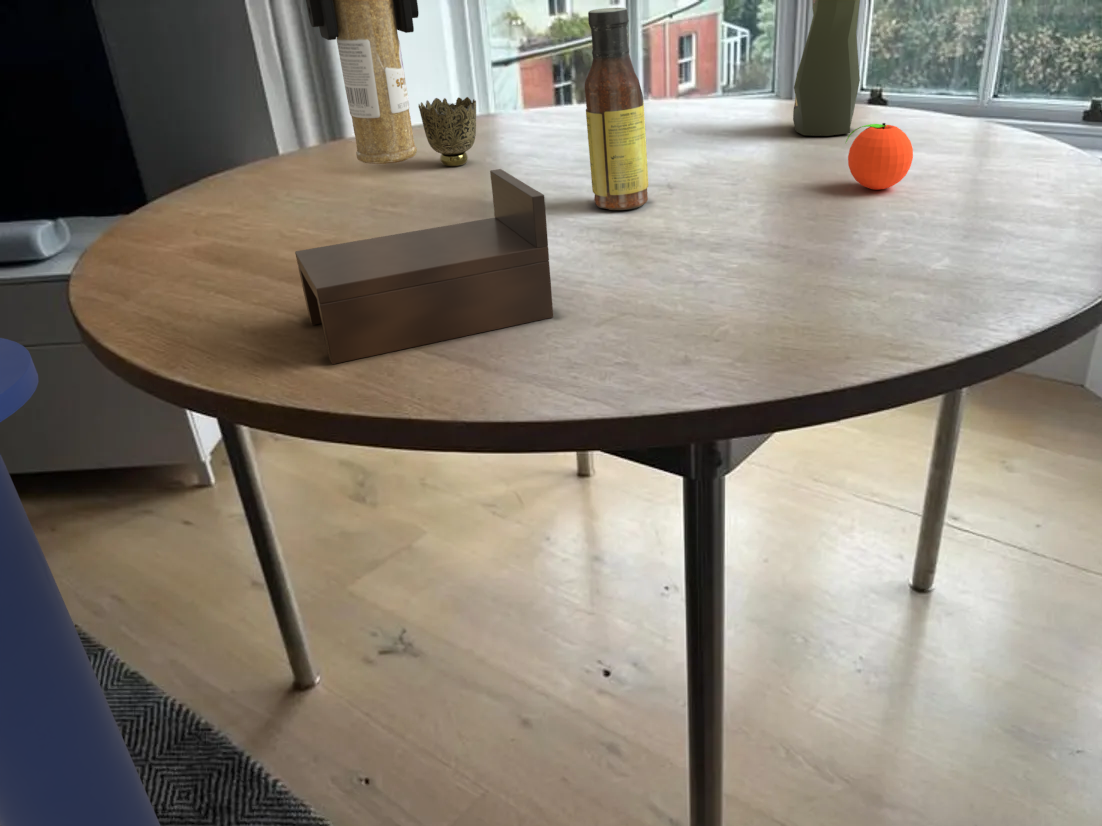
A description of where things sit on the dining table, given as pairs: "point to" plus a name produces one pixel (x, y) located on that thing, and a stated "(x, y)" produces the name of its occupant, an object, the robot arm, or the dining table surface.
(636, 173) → the sauce bottle
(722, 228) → the dining table surface
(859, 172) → the clementine
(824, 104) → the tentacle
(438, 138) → the cup
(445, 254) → the shelf
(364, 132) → the sprinkles bottle
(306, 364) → the dining table surface
